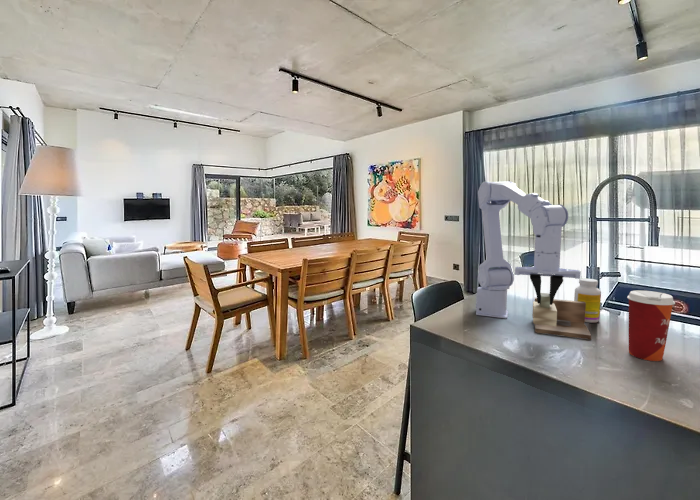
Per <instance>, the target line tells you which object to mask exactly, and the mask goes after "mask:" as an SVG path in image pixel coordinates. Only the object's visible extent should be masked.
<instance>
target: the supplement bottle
mask: <svg viewBox="0 0 700 500" xmlns="http://www.w3.org/2000/svg"><path fill="white" fill-rule="evenodd" d="M578 283H579V285H578V286H576V287H575V288H574V295H573V296H574V297H573V298H574V299H573V301H580V302H585V303H586V309H585V323H589V324H590V323H591V324H595V323H598V322H599V321H600V314H601V313H600V312H601V301H602V300H601V296H602V291H601V290H600V289H599V288H598V287H597V286H598V285H599V281H598V279H594V278H585V277H584V278H581V277H580V279H579V280H578Z"/></svg>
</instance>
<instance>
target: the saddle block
mask: <svg viewBox="0 0 700 500" xmlns="http://www.w3.org/2000/svg"><path fill="white" fill-rule="evenodd" d="M549 293H550V292H549ZM549 293H548V292H540V294H541V303H540V304H538V303H537V302H535V300H534V301H532V313H531V314H532V323H533V324H540V325H548V326H556V323H557V309H556V307H555V304H554V303H553V304H552V305H550V295H549Z"/></svg>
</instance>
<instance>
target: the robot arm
mask: <svg viewBox="0 0 700 500" xmlns="http://www.w3.org/2000/svg"><path fill="white" fill-rule="evenodd" d="M477 195H478V197H477V199H478V207H479V209H481V212H482V213H481V214H482V224H483V225H482V227H483V237H484V248H485V260H484V261H483V262H482V263H480V264H479V265H478V275H477V280H478V284H479V285H480V286H478V287H477V289H476V303H475V308H476V309H475V310H476V311H475V315H476V316H483V317H491V318H498V319H499V318H500V319H508V316H509V315H508V314H509V310H508V309H507V308H508V307H507V306H508V305H507V304H508V303H507V302H508V290H510V287H511V286H512V285H513V284H514V280H515V275H516V276H521V275H522V276H523V275H524V276H529V277H530V278H529V279H530V282H531V283H532V285H533V288H534V291H535V294H536V298H537V303H538V304H540V303H541V294H540V293H541V290H542V289H541V287H542V277H549V295H550V305H552V304H553V300H554V299H555V297H556V294H557V291H558V290H559V288H560V287H561V286H562V284H563V282H564V278H569V279H570V278H571V279H576V280H578V279H581V274H582V273H581V272H582V271H581V270H580V269H571V268H570V269H569V268H561V266H560V265H561V247H562V232H563V231H562V229H563V228H562V227H564V226H566V224H567V223H568V220H569V212H568V209H567V208H566V207H565V206H564V205H563V204H556V205H554V204H552V203H551V202H550V201H549V200H547V199H546V200H545V199H543V198H542V197H540V194H538V193H536V192H531V193H525V192H524V191H523V190H521V189H520V188H519V187H517V183H516V182H513V181H511V180H508V181H483V182H482V183H481V184H480V186H479V188H478V191H477ZM510 202H512V203H514V204H515V205H517V209H518V211H519V212H520V213H522V214H523V215H525V216H526V217H528V218H529V219H530V222H531V225H532V229H533V230H532V232H533V234H534V236H535V237H534V238H535V239H534V255H533V256H534V257H533V266H514V272H513V270H512V265H511V263H510V262H508V261H507V260H505V259H504V253H503V252H504V251H503V242H502V232H501V231H502V229H501V220H500V212H501V210H502V209H504V208H505V207H507V206H508V204H509V203H510Z"/></svg>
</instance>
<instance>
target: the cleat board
mask: <svg viewBox="0 0 700 500" xmlns="http://www.w3.org/2000/svg"><path fill="white" fill-rule="evenodd" d="M534 302H537V297H534ZM553 303H554V304H555V307H556V309H557V323H556V326H548V325H540V324H534V325H533V327H534V333H537V334H543V335H544V334H546V335H551V336H553V335H554V336H560V337H568V338H576V339H583V340H584V339H585V340H592V334H591V332H590V330H589V328H588V326H587V325H586V322H585V309H586V303H585V302H580V301H574V300H567V299H555V298H554V300H553Z"/></svg>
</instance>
